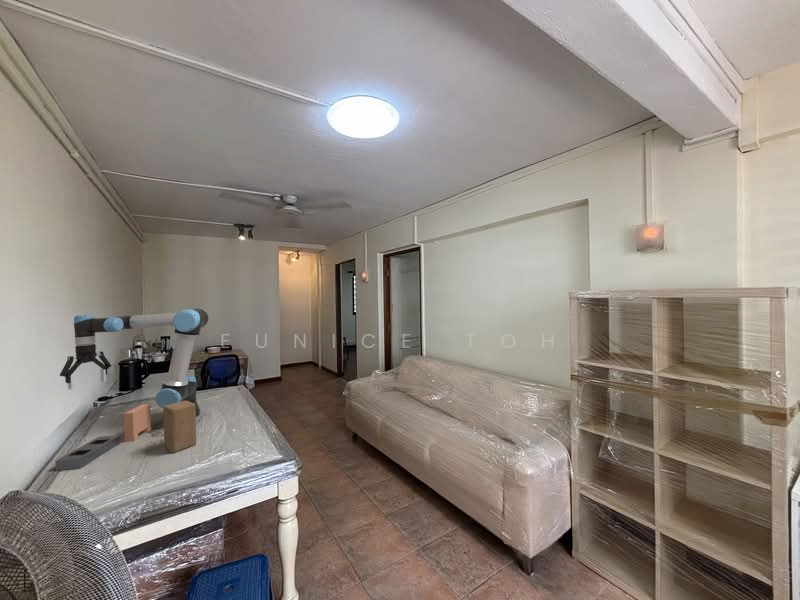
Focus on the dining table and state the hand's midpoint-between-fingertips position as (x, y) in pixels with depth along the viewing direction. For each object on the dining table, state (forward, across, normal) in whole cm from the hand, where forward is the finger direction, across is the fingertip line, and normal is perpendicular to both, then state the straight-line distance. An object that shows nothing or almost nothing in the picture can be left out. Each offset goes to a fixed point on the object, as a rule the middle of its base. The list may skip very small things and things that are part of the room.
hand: (87, 385), depth 163 cm
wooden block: (+26, -2, +60) cm, 66 cm away
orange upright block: (+26, -5, +28) cm, 39 cm away
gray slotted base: (+26, +16, +30) cm, 42 cm away
